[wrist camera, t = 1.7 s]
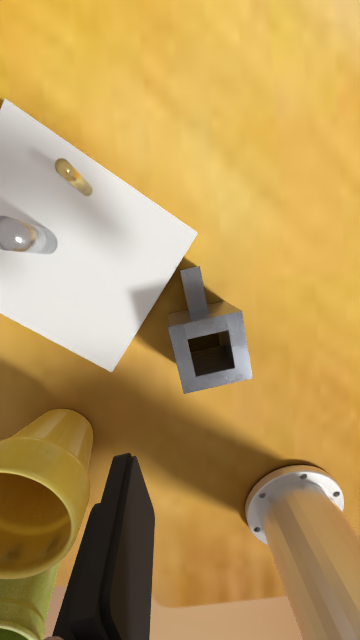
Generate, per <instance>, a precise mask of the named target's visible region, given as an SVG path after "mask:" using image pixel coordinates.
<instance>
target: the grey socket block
mask: <svg viewBox="0 0 360 640" xmlns="http://www.w3.org/2000/svg"><path fill="white" fill-rule="evenodd" d="M179 271H180V276H181V280H182V285H183V290H184V294H185V299H186V303H187V308H188V309H187V310H183V311H178V312H174V313H169V314H168V330H169V334H170V338H171V343H172V347H173V351H174V355H175V359H176V363H177V367H178V371H179V376H180V380H181V384H182V388H183V392H184V394H186V393H190V392H195V391H199V390H203V389H208V388H212V387H217V386H221V385H225V384H230V383H234V382H238V381H243V380H247V379H252V372H251V365H250V359H249V353H248V347H247V340H246V334H245V328H244V321H243V315H242V311H241V310H239V309H238V308H236V307H234V306H233V305H231V304H229V303H228V302H226V301H222V302H218V303H213V304H209V305H207V301H206V296H205V291H204V286H203V281H202V276H201V271H200V266H196V267H192V268H188V269H183V270H179ZM213 333H218V336H219V341H220V346H217V347H213V348H209V349H204V350H200V351H196V352H191V353H190V349H189V344H188V340H187V339H191V338H196V337H200V336H204V335H209V334H213Z"/></svg>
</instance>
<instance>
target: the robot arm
mask: <svg viewBox="0 0 360 640" xmlns="http://www.w3.org/2000/svg"><path fill="white" fill-rule="evenodd" d="M343 508H344V497H343V493H342V491H341V489H340V487H339V485H338V484H337V483H336V481H335V480H334V479H333V478H332V477H331V476H330V475H329V474H328V473H327V472H325V471H323V470H322V469H320V468H317V467H313V466H307V465H292V466H288V467H283V468H280V469H278V470H275V471H273V472H271V473H270V474H268V475H266V476H265V477H264V478H262V479H261V480H260V481H259V482H258V483H257V484H256V485H255V486H254V487H253V489H252V490H251V492H250V494H249V496H248V498H247V501H246V506H245V514H246V519H247V522H248V525H249V528H250V530H251V532H252V533H253V534H254V535H255V537H256V538H257V539H259V540H260V541H262V542H263V543H265V544H267V545H269V548H270V551H271V553H272V556H273V559H274V562H275V564H276V567H277V570H278V573H279V575H280V578H281V581H282V584H283V586H284V589H285V592H286V595H287V597H288V600H289V603H290V606H291V608H292V611H293V614H294V617H295V619H296V622H297V625H298V627H299V631H300V633H301V636H302V639H303V640H360V536H359V535H358V533H357V532H356V531H355V529H354V528H353V526H352V525H351V524H350V522H349V521H348V519H347V518H346V517H345V515H344V514H343V512H342V511H343ZM154 527H155V515H154V509H153V506H152V503H151V500H150V497H149V494H148V491H147V488H146V485H145V482H144V478H143V475H142V472H141V469H140V466H139V463H138V460H137V457H136V456H133V457H132V456H131V454H130V453H126V454H122V455H118V456H114V458H113V460H112V464H111V467H110V471H109V475H108V478H107V482H106V485H105V489H104V492H103V496H102V500H101V503H97V504H95V505H94V506H93V508H92V510H91V512H90V515H89V519H88V522H87V525H86V528H85V531H84V535H83V538H82V541H81V544H80V548H79V551H78V554H77V557H76V560H75V564H74V567H73V570H72V573H71V577H70V580H69V583H68V586H67V590H66V593H65V596H64V599H63V602H62V606H61V609H60V612H59V615H58V618H57V622H56V625H55V629H54V631H53V635H52V637H47V638H45V639H44V640H149V633H150V611H151V591H152V570H153V548H154Z"/></svg>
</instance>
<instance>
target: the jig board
mask: <svg viewBox="0 0 360 640" xmlns="http://www.w3.org/2000/svg"><path fill="white" fill-rule="evenodd" d="M59 158H64V159H66V160H67V161H68V162H69V163H70V164H71V165H72V166H73V167H74V168H75V169H76V170H77V172H78V173H79V174H80V175H81V176H82V177H83V178H84V179H85V180H86V181H87V182H88V183H89V184H90V185H91V187H92V194H91V195H90V196H84V195H83V194H82V193H81V192H79V191H78V190H77V189H76V188H75V187H74V186H72V185H71V184H70V183H69V182H68V181H67V180H65V179H64V178H63V177H62V176H61V175H60V174H58V173H57V171H56V170H55V162H56V160H57V159H59ZM0 216H7V217H11V218H14V219H17V220H20V221H23V222H26V223H30V224H33V225H36V226H39V227H42V228H45V229H48V230H50V231H52V232H53V233H54V234H55V236H56V238H57V241H58V245H57V249H56V250H55V251H54V252H53V253H52V254H48V255H44V254H35V253H25V252H15V251H6V250H2V249H0V313H1V314H3V315H5V316H6V317H8V318H10V319H12V320H14V321H16V322H18V323H20V324H22V325H23V326H25V327H27V328H29V329H31V330H33V331H35V332H37V333H38V334H40V335H42V336H44V337H46V338H48V339H50V340H52V341H53V342H55V343H57V344H59V345H61V346H63V347H65V348H67V349H68V350H70V351H72V352H74V353H76V354H78V355H80V356H82V357H84V358H85V359H87V360H89V361H91V362H93V363H95V364H97V365H99V366H100V367H102V368H104V369H106V370H108V371H110V372H112V371H113V370H114V368H115V367H116V365H117V363H118V362H119V360H120V358H121V357H122V355H123V354H124V352H125V350H126V349H127V347H128V346H129V344H130V342H131V341H132V339H133V337H134V336H135V334H136V333H137V331H138V329H139V328H140V326H141V324H142V323H143V321H144V320H145V318H146V316H147V315H148V313H149V312H150V310H151V308H152V307H153V305H154V303H155V302H156V300H157V299H158V297H159V295H160V294H161V292H162V290H163V289H164V287H165V286H166V284H167V282H168V281H169V279H170V278H171V276H172V274H173V273H174V271H175V269H176V268H177V266H178V265H179V263H180V261H181V260H182V258H183V256H184V255H185V253H186V252H187V250H188V248H189V247H190V245H191V244H192V242H193V240H194V239H195V237H196V235H197V234H198V233H197V232H196V231H195V230H193V229H192V228H190V227H189V226H187V225H186V224H184V223H183V222H182V221H180V220H179V219H177V218H176V217H174V216H173V215H172V214H170V213H169V212H167V211H166V210H164V209H163V208H162V207H160V206H159V205H157V204H156V203H154V202H153V201H151V200H150V199H149V198H147V197H146V196H144V195H143V194H141V193H140V192H139V191H137V190H136V189H134V188H133V187H131V186H130V185H129V184H127V183H126V182H124V181H123V180H121V179H120V178H118V177H117V176H116V175H114V174H113V173H111V172H110V171H108V170H107V169H106V168H104V167H103V166H101V165H100V164H98V163H97V162H96V161H94V160H93V159H91V158H90V157H88V156H87V155H85V154H84V153H83V152H81V151H80V150H78V149H77V148H75V147H74V146H73V145H71V144H70V143H68V142H67V141H65V140H64V139H63V138H61V137H60V136H58V135H57V134H55V133H54V132H52V131H51V130H50V129H48V128H47V127H45V126H44V125H42V124H41V123H40V122H38V121H37V120H35V119H34V118H32V117H31V116H30V115H28V114H27V113H25V112H24V111H22V110H21V109H19V108H18V107H17V106H15V105H14V104H12V103H11V102H9V101H8V100H7V99H5V100H4V102H3V104H2V107H1V109H0Z"/></svg>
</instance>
